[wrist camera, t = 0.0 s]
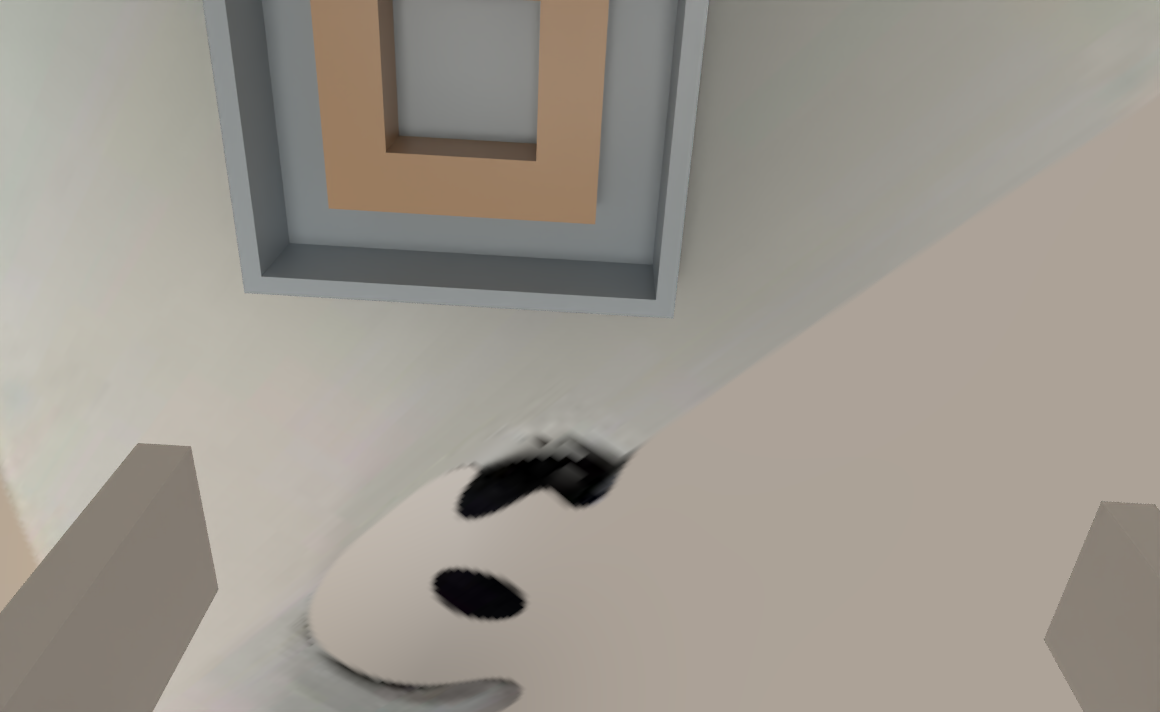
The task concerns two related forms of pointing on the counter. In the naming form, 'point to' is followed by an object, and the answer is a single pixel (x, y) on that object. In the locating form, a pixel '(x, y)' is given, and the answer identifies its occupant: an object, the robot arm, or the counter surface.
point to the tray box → (460, 148)
